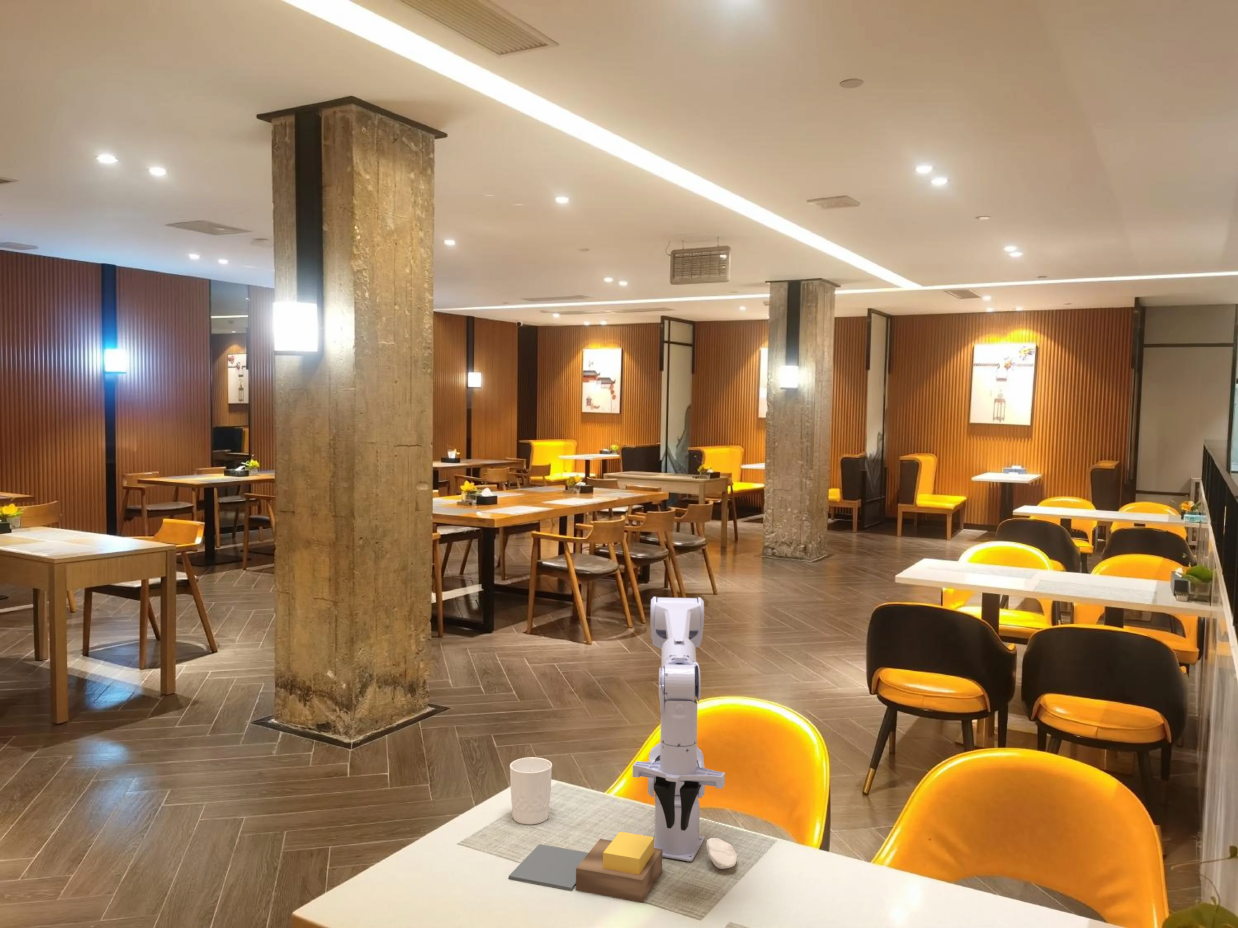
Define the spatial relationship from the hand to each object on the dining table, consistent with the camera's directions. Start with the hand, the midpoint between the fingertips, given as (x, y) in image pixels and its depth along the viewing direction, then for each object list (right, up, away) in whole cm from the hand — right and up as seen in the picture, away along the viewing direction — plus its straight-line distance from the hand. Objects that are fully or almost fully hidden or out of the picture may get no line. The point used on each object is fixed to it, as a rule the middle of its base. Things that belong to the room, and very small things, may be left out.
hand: (677, 826), depth 141 cm
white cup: (-26, -10, +27) cm, 39 cm away
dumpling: (+8, -11, +9) cm, 16 cm away
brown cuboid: (-9, -10, +4) cm, 14 cm away
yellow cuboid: (-8, -6, +3) cm, 10 cm away
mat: (-20, -10, +8) cm, 24 cm away
